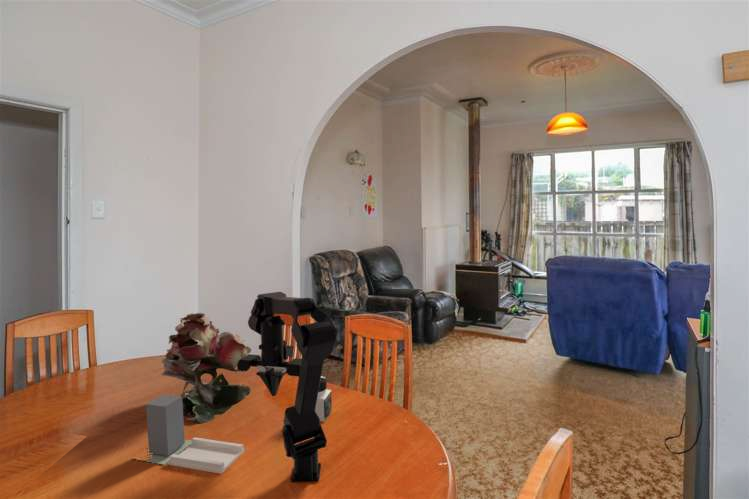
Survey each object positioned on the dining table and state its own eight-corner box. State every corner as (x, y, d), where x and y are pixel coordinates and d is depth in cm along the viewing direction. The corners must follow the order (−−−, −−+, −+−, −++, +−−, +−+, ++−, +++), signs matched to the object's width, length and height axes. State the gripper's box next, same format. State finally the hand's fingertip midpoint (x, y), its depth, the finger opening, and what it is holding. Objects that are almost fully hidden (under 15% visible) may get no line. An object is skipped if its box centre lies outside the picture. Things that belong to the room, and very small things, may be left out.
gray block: (184, 443, 113) (182, 396, 112) (168, 455, 107) (165, 406, 106) (166, 440, 115) (163, 394, 114) (149, 452, 109) (145, 404, 108)
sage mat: (194, 442, 115) (194, 441, 115) (164, 465, 105) (164, 464, 105) (163, 437, 118) (163, 436, 118) (131, 459, 108) (131, 458, 108)
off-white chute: (244, 451, 111) (244, 443, 111) (221, 473, 101) (220, 465, 101) (196, 443, 115) (195, 436, 115) (169, 464, 105) (168, 457, 105)
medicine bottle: (324, 422, 125) (323, 383, 124) (302, 420, 127) (301, 381, 126) (332, 411, 132) (331, 374, 131) (310, 409, 134) (309, 372, 133)
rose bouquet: (260, 386, 152) (257, 304, 150) (208, 426, 124) (203, 326, 122) (199, 380, 159) (195, 301, 156) (137, 416, 131) (131, 321, 128)
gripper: (316, 333, 118) (318, 387, 119) (257, 329, 123) (259, 380, 124) (299, 345, 107) (301, 404, 109) (234, 340, 112) (237, 396, 113)
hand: (274, 395), depth 114 cm, fingers closed
